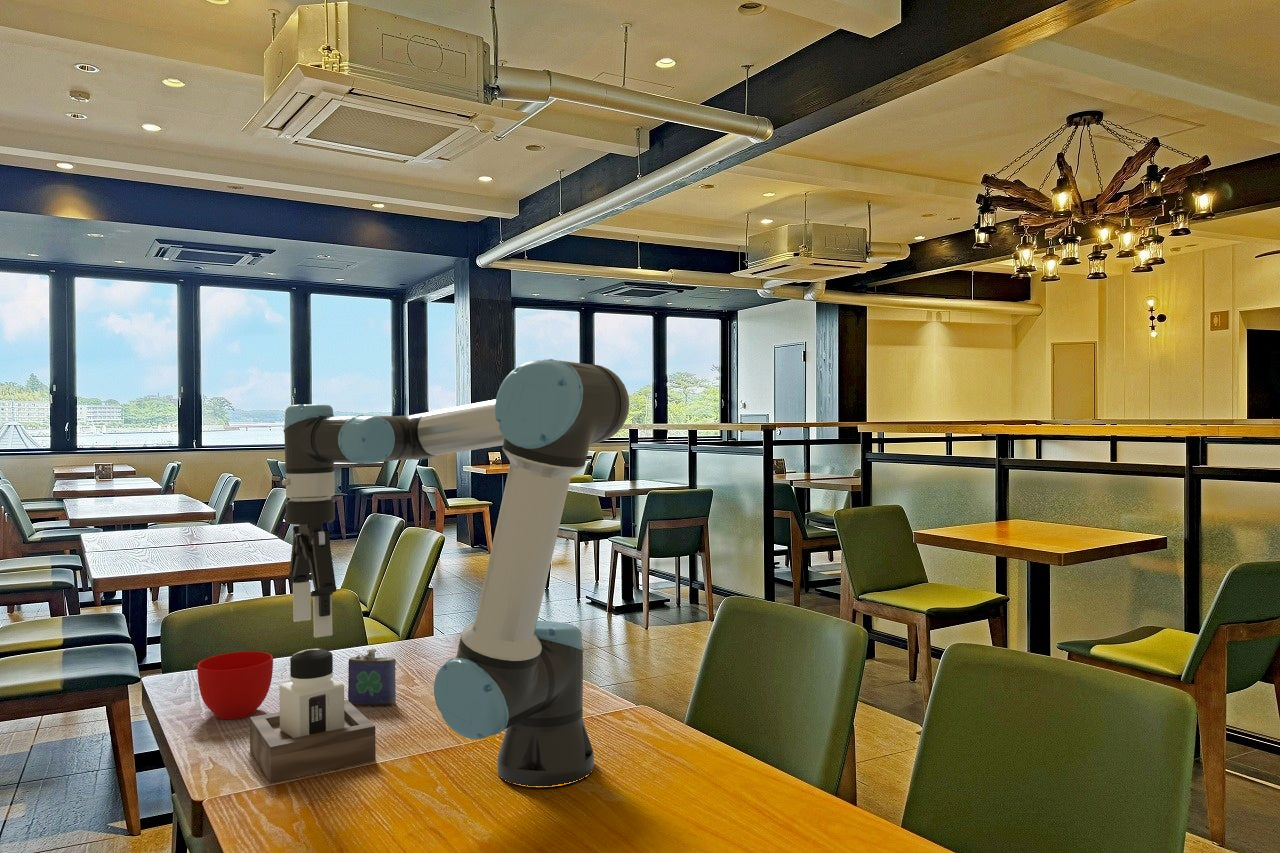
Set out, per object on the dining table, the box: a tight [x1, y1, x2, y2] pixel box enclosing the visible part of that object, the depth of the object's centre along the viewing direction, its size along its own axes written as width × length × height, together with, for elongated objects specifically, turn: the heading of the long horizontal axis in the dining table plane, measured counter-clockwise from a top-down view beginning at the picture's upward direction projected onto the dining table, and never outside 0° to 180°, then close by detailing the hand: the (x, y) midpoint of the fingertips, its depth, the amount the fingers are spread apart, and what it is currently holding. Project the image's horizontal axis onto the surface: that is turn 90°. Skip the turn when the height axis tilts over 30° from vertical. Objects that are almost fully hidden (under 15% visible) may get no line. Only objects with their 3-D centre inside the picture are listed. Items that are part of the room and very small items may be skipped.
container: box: [278, 648, 345, 738], centre depth 144 cm, size 8×8×13 cm
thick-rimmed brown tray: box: [249, 699, 377, 784], centre depth 145 cm, size 16×16×6 cm
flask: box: [347, 648, 397, 708], centre depth 170 cm, size 9×3×11 cm, turn 88°
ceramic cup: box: [196, 650, 274, 720], centre depth 166 cm, size 13×17×10 cm
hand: (312, 628), depth 144 cm, fingers open, 13 cm apart
